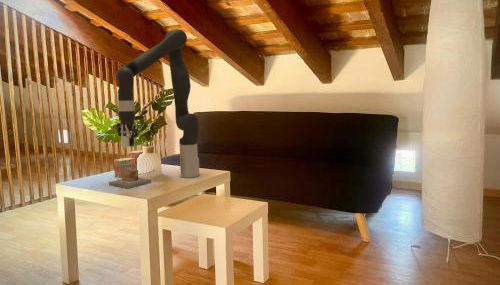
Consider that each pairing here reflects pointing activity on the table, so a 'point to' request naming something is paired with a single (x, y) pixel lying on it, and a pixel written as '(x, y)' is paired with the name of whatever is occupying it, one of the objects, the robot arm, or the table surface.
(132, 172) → the walnut block
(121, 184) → the base plate
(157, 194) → the table surface
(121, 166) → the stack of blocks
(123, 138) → the sage block
